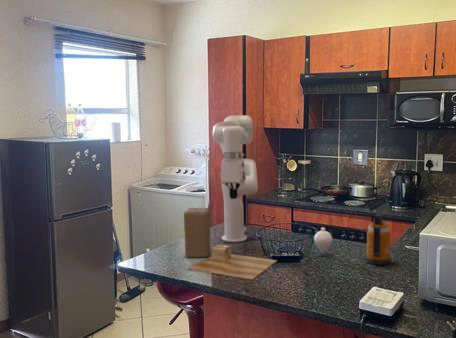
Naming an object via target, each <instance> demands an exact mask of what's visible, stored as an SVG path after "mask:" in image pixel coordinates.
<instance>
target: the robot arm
mask: <svg viewBox="0 0 456 338" xmlns="http://www.w3.org/2000/svg"><path fill="white" fill-rule="evenodd" d="M253 137H254V122H253V119H252V117H251V116H250V115H247V114H246V115H243V114H242V115H229V116H227V117H225V118H224V120H223V121H221V122H217V123H215V124H214V126H213V129H212V139H213V142H214V143H216V144H219V147H220V149H221V151H222V154H223V159H222V162H221V167H220V168H221V170H220V179H221V190H222V195H223V219H224V220H223V221H224V234H223V235H222V236H221V240H222V241H223V242H226V243H241V242H245V241H247V240H248V236H247V235H246V234H245V232H247V227H245V217H244V216H245V215H244V214H245V213H244V212H245V211H244V207H245V206H244V202H243V200H242V199H241V197H240V196H248V195H249V196H251V195H256V193H257V192H258V189H259V184H258V171H257V169H258V168H257V164H256V161H255V160H254V159H252V158H243V157H245V153H243V152H242V145H249V144H251V143H252V142H253Z"/></svg>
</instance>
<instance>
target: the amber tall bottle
mask: <svg viewBox="0 0 456 338" xmlns="http://www.w3.org/2000/svg"><path fill="white" fill-rule="evenodd" d="M383 218H384V214H383V213H376V214H375V215H374V218H373V219H374V220H373V222H370V223H369V224H368V230H366V262H368V263H370V264H372V265H377V266H385V265H387V264H389V263H390V262H391V231H390V226H389V223H388V222H387V221H385V220H383Z"/></svg>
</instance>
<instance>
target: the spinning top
mask: <svg viewBox="0 0 456 338" xmlns="http://www.w3.org/2000/svg"><path fill="white" fill-rule="evenodd" d="M313 241H314V244H315V246H316V247H317V249H318V250H319V251H320V252H321V253H322V256H324V254H325V253H326V252H327V250H329V248H330V246H331V244H332V242H333V235H332V234H331V233H330V232H329V231H327V230H326V228H325V227H320V230H318V231H317V232H316V233H315V235H314V237H313Z"/></svg>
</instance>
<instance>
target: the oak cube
mask: <svg viewBox="0 0 456 338" xmlns="http://www.w3.org/2000/svg"><path fill="white" fill-rule="evenodd" d="M231 254H232V246H231V245H224V244H216V245H215V246H213V247H211V256H212V260H217V261H226V260H228V259H229V258H231Z"/></svg>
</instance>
